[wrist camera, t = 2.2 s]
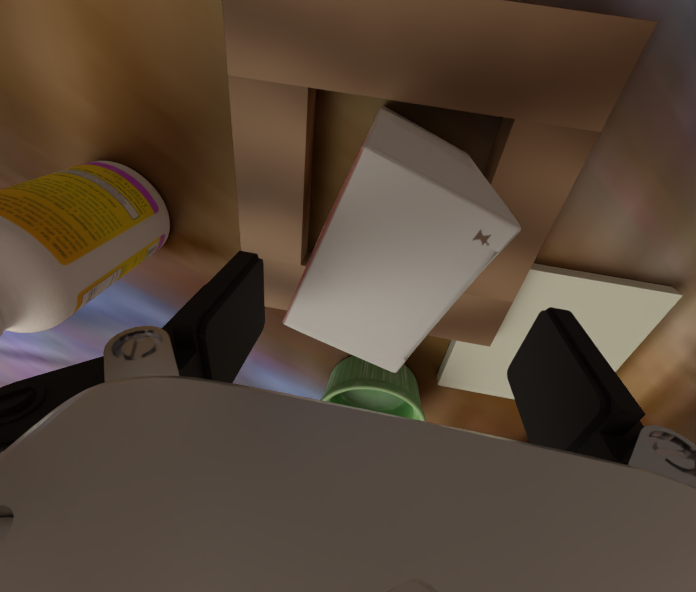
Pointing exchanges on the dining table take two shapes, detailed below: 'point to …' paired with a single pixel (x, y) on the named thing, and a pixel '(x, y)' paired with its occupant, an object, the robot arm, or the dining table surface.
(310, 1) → the holder block
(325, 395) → the ramekin
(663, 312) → the cream square tile
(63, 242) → the supplement bottle
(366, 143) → the small box
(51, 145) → the dining table surface
